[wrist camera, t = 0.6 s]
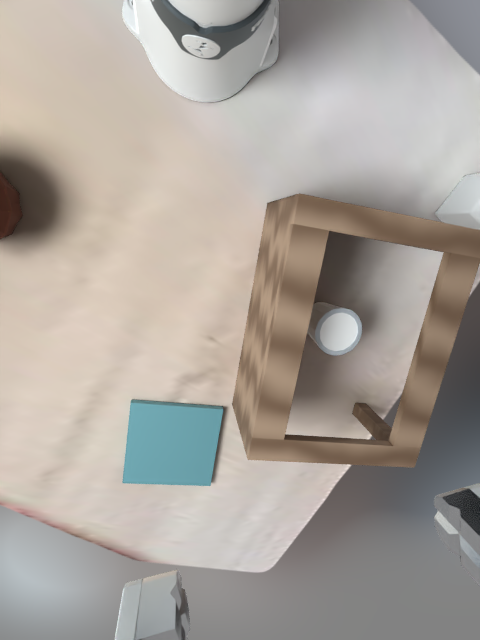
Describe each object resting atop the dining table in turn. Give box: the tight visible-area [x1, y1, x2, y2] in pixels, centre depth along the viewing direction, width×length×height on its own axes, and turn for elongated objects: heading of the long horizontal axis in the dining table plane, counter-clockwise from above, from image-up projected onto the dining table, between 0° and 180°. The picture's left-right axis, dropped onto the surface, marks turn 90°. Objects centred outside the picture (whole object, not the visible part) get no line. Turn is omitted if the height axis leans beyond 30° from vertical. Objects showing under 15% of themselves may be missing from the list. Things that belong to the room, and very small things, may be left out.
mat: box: [123, 400, 223, 486], centre depth 55 cm, size 14×14×1 cm
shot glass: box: [307, 302, 362, 356], centre depth 51 cm, size 7×7×7 cm
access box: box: [232, 194, 480, 467], centre depth 48 cm, size 31×23×14 cm
